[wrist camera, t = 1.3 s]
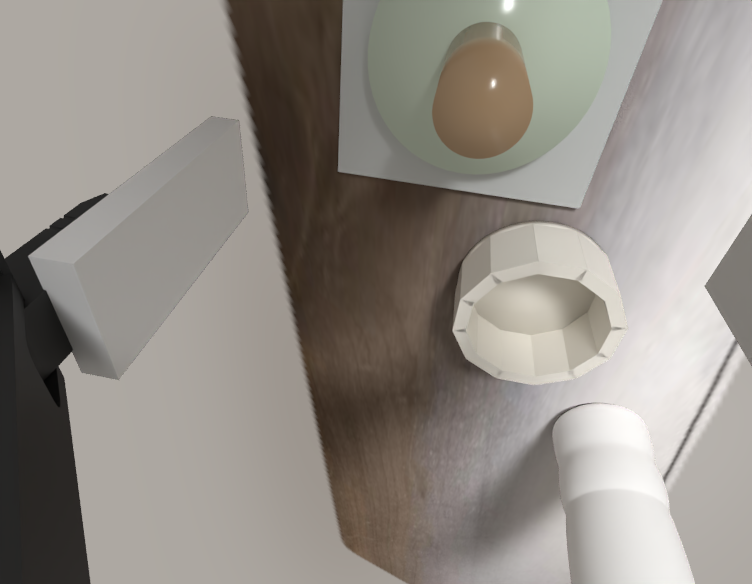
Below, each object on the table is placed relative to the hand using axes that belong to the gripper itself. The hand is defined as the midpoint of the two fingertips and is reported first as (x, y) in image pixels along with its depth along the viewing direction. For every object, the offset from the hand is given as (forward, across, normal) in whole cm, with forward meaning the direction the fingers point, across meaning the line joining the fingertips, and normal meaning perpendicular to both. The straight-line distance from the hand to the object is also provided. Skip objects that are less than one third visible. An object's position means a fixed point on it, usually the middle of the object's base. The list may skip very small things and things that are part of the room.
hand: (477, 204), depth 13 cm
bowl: (+15, +6, -13) cm, 20 cm away
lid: (+14, 0, 0) cm, 14 cm away
